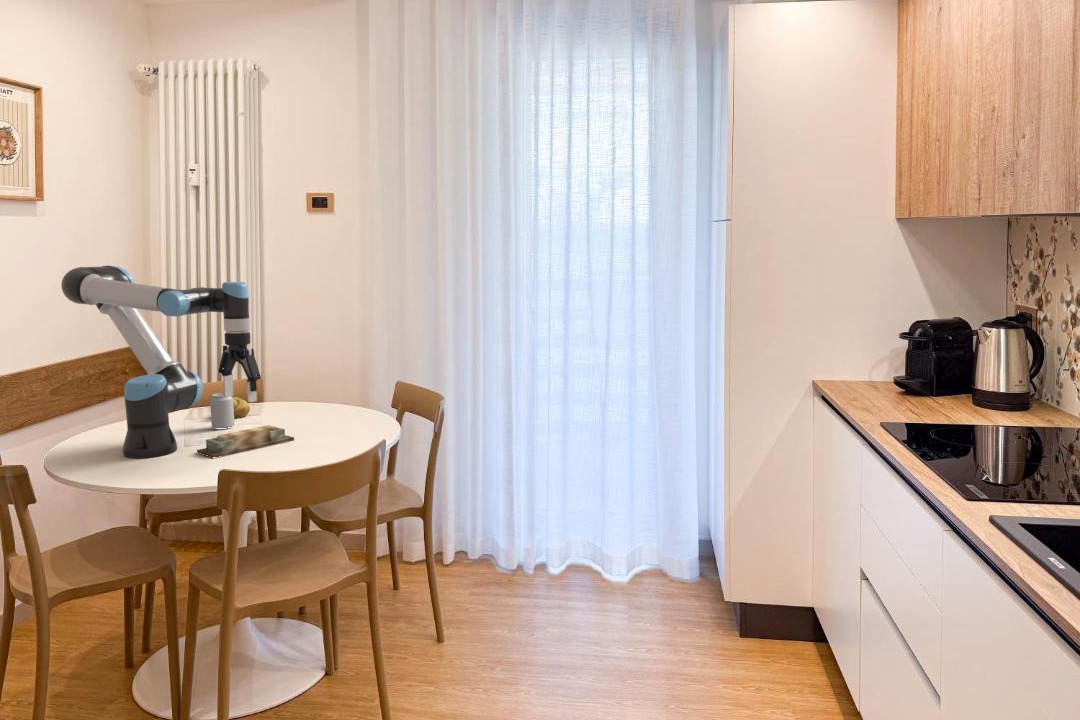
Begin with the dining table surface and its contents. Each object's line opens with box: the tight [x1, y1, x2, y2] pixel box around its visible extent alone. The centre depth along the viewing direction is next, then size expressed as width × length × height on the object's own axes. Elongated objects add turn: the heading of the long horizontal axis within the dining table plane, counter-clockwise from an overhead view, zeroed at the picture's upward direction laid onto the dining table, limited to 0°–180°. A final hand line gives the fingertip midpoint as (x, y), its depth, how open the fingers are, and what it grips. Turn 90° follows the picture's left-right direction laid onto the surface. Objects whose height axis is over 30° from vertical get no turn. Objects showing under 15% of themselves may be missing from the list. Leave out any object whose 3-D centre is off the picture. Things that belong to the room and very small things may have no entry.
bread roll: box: [232, 396, 251, 419], centre depth 303 cm, size 13×10×8 cm
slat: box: [216, 424, 277, 448], centre depth 257 cm, size 18×4×4 cm, turn 141°
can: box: [209, 392, 235, 429], centre depth 283 cm, size 8×8×12 cm
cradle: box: [196, 426, 295, 458], centre depth 257 cm, size 28×10×4 cm, turn 141°
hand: (240, 398), depth 255 cm, fingers open, 13 cm apart
